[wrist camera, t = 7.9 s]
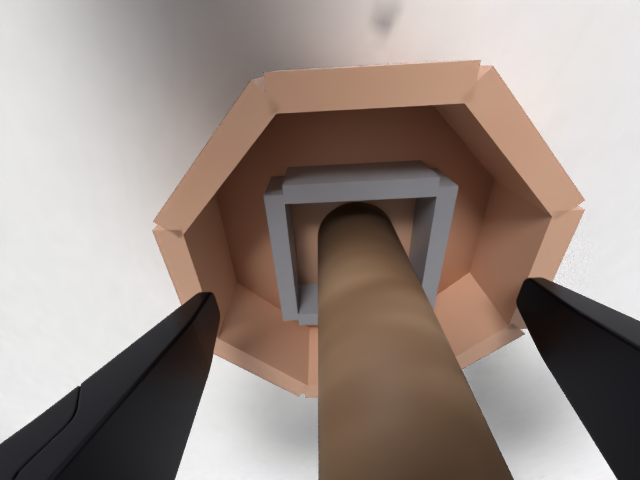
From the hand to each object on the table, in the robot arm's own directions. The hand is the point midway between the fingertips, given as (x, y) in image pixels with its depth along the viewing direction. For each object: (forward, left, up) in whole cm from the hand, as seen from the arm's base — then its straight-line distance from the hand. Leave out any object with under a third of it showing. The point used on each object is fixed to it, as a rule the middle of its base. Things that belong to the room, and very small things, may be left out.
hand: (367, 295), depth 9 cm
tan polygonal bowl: (0, 0, -4) cm, 4 cm away
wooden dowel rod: (0, 0, -4) cm, 4 cm away
